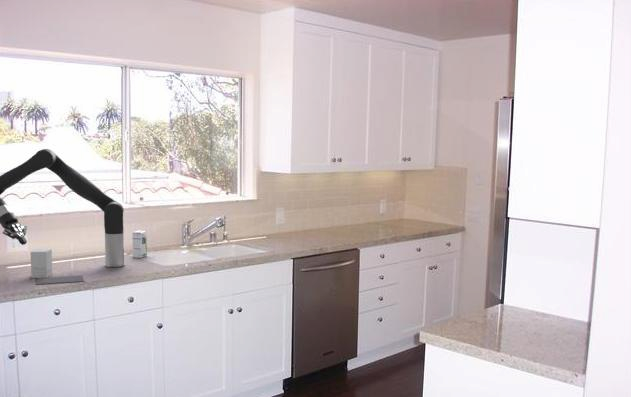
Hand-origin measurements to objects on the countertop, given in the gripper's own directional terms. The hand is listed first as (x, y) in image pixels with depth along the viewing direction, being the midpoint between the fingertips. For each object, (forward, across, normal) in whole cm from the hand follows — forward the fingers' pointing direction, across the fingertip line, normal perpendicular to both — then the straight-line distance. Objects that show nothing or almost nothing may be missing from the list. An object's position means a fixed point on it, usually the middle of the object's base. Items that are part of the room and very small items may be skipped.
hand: (24, 243), depth 283 cm
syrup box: (+25, +59, -4) cm, 65 cm away
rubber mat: (+28, -2, -7) cm, 28 cm away
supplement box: (+18, 0, +3) cm, 18 cm away
